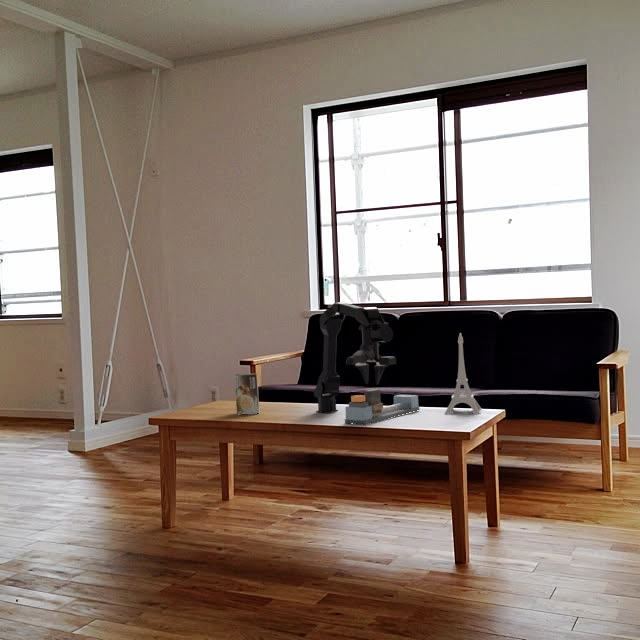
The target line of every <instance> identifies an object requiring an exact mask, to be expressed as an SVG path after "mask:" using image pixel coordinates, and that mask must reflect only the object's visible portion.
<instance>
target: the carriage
mask: <svg viewBox="0 0 640 640" xmlns="http://www.w3.org/2000/svg"><path fill="white" fill-rule="evenodd" d="M363 395H365V401H364V402H368V406H372V415H374V414H378V413H382V409H383V407H384V403H382V402H381V401H382V400H381V388H380V389H379V388H378V389H377V388H372V389H368V390H364V391H363Z"/></svg>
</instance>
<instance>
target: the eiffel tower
mask: <svg viewBox="0 0 640 640" xmlns="http://www.w3.org/2000/svg"><path fill="white" fill-rule="evenodd" d="M457 339H458V340H457V343H458V366H457V367H458V369H457V371H458V372H457V379H456V380H455V381H456V385H455V390H454V393H453V394H452V395H451V401H450V403H449V405H448V406H447V408H446V409H445V412H443V414H444V415H452V411H454V410H455V408H454V407H455V406H456V405H458V404H460V403H461V404H462V403H464V404H466V405H468V406H470V407H471V409H472V415H481V411H482V409H483V408H482V407H481V406H480V404H479V403H478V401H477V400H476V399H475V398H474V395H475V394H472V391H471V389H470V386H469V383H468V380H469V379H468V378H467V373H466V367H465V359H464V358H465V357H464V346H463V344H464V337H463V336H462V333H461V332H460V333H459V335H458V338H457ZM462 385H463V388H464V392H465V394H460V391H461V386H462Z"/></svg>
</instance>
